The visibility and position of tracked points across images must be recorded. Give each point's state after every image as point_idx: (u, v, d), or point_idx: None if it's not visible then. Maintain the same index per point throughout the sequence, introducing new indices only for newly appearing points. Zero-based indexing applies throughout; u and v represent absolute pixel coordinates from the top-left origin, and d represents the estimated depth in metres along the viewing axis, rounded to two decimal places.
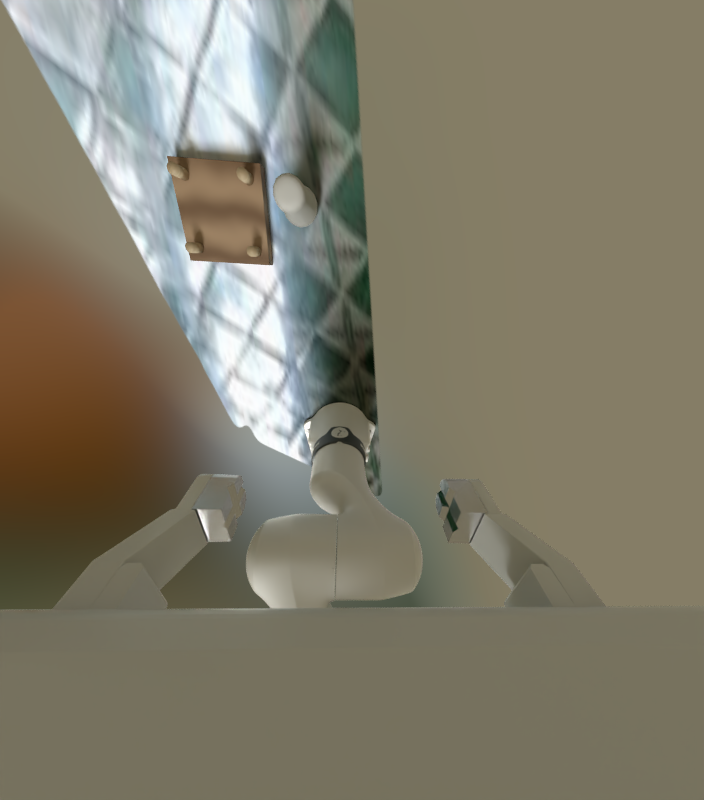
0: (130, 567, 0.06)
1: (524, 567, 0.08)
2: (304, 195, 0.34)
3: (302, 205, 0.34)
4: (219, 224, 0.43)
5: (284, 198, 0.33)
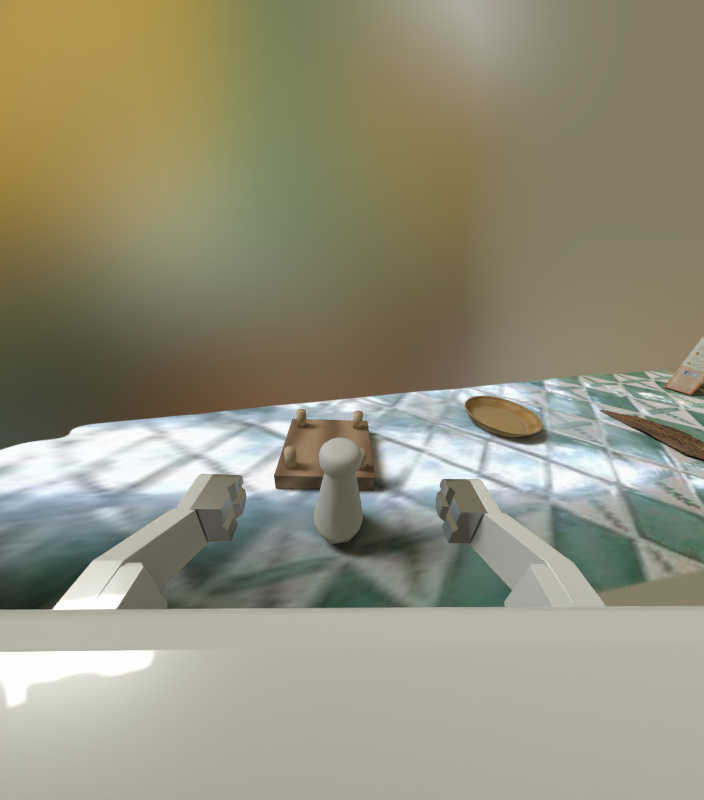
0: (130, 567, 0.06)
1: (524, 567, 0.08)
2: (339, 467, 0.23)
3: (328, 465, 0.24)
4: (320, 440, 0.42)
5: (334, 443, 0.25)
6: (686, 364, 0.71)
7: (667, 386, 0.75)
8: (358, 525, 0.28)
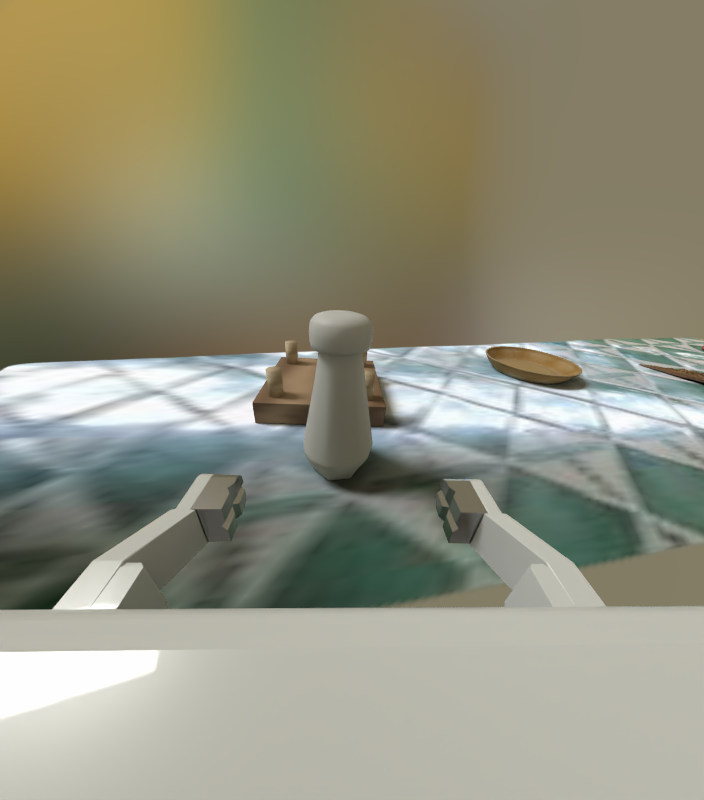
0: (130, 567, 0.06)
1: (524, 567, 0.08)
2: (339, 333, 0.15)
3: (321, 333, 0.15)
4: (314, 374, 0.33)
5: (331, 311, 0.17)
6: None
7: None
8: (366, 450, 0.20)
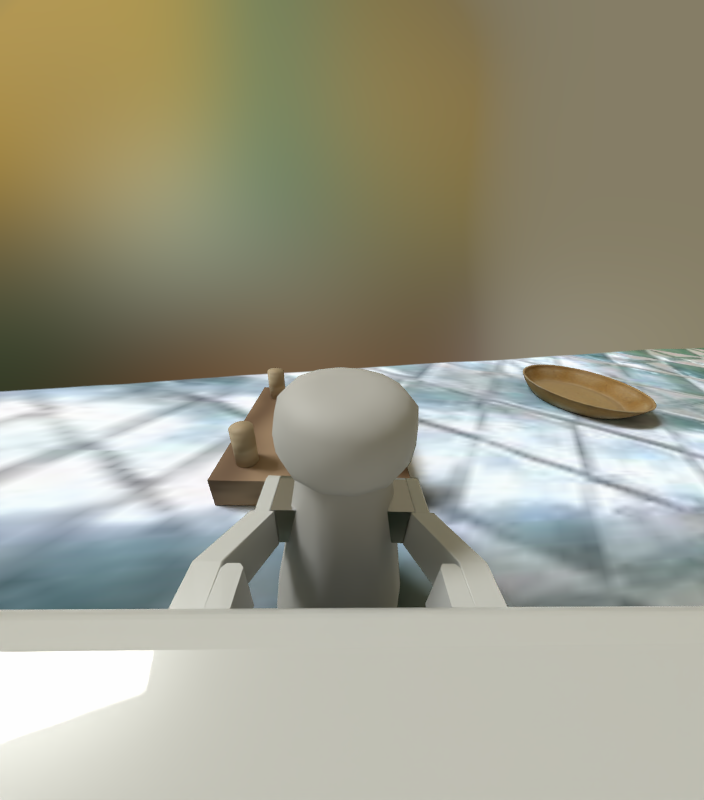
0: (231, 567, 0.07)
1: None
2: (344, 455, 0.06)
3: (298, 448, 0.06)
4: None
5: (325, 375, 0.07)
6: None
7: None
8: None
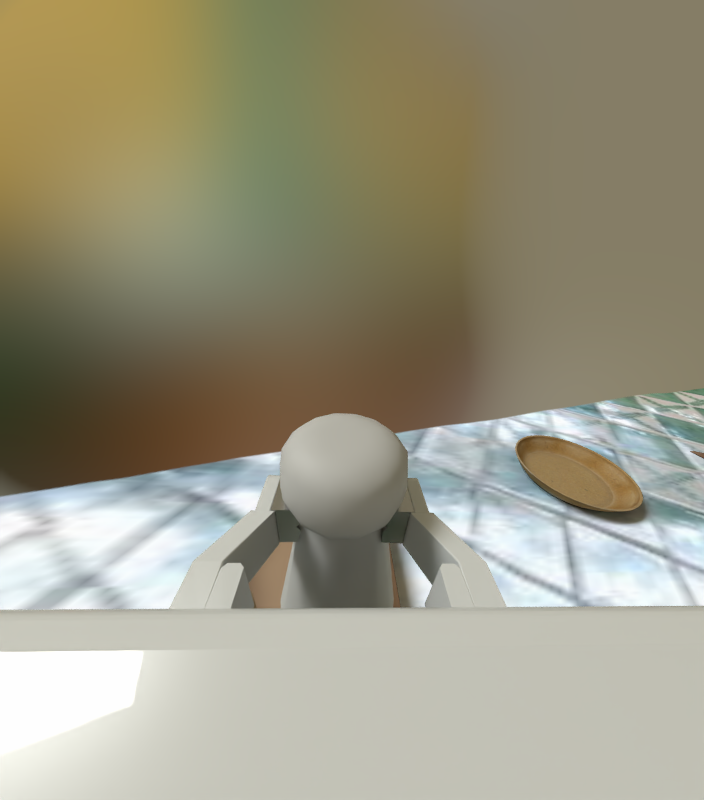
0: (231, 568, 0.07)
1: None
2: (348, 508, 0.07)
3: (307, 503, 0.07)
4: None
5: (324, 427, 0.08)
6: None
7: None
8: None
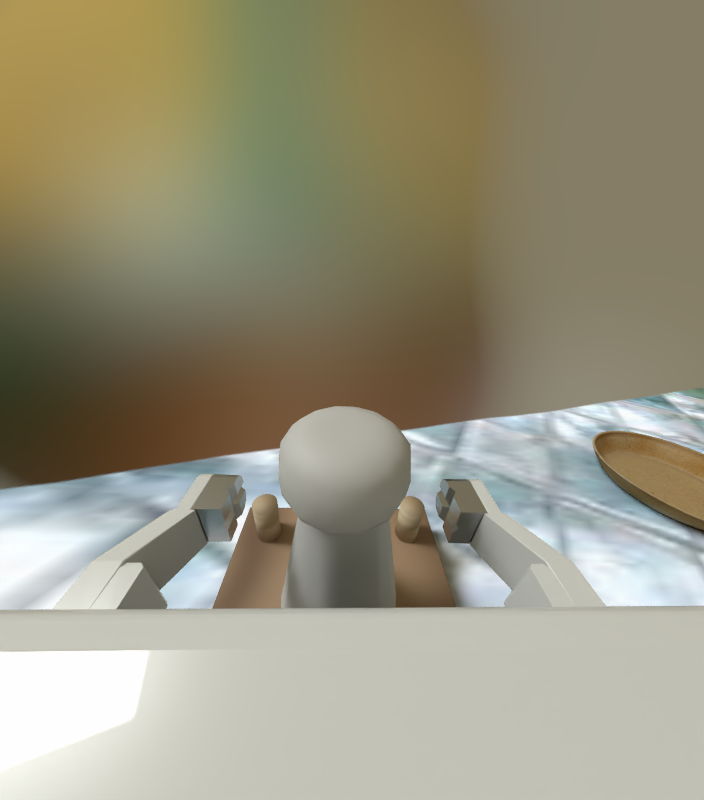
0: (130, 567, 0.06)
1: (524, 567, 0.08)
2: (350, 502, 0.06)
3: (307, 497, 0.07)
4: None
5: (324, 420, 0.08)
6: None
7: None
8: None
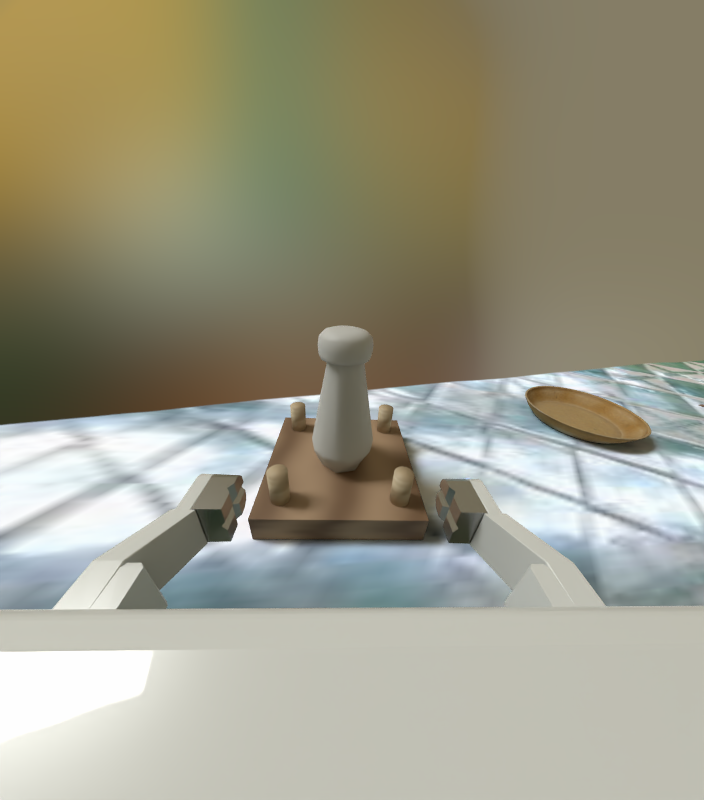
0: (130, 567, 0.06)
1: (524, 567, 0.08)
2: (347, 347, 0.18)
3: (331, 347, 0.18)
4: None
5: (337, 327, 0.20)
6: None
7: None
8: (369, 444, 0.23)
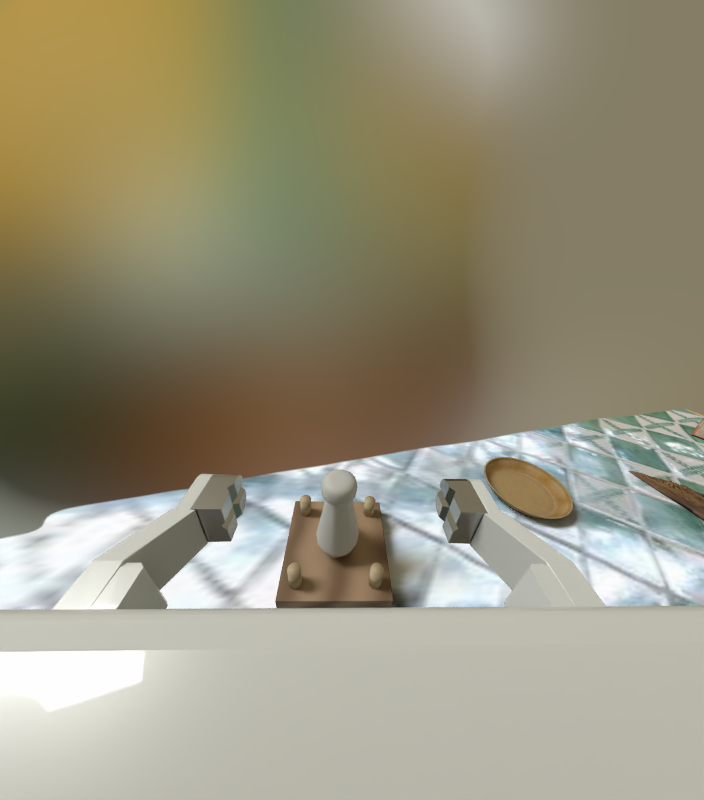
0: (130, 567, 0.06)
1: (524, 567, 0.08)
2: (339, 497, 0.28)
3: (330, 496, 0.29)
4: None
5: (333, 475, 0.30)
6: None
7: (695, 433, 0.70)
8: (355, 541, 0.34)
